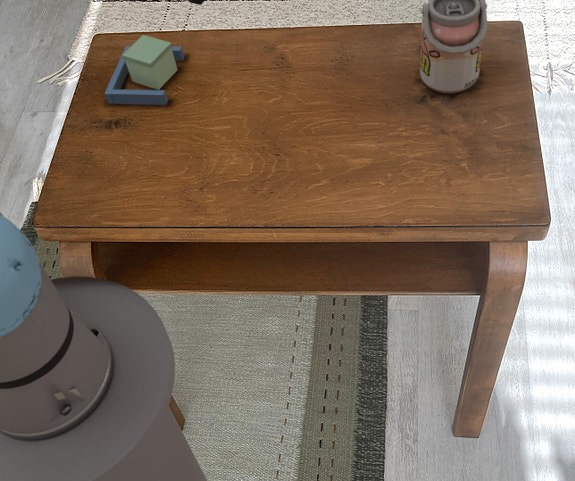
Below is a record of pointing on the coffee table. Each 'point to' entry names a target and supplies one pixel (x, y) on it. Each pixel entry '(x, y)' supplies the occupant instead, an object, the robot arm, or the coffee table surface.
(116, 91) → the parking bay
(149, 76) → the toy box
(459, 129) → the coffee table surface
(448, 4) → the beverage can
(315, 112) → the coffee table surface
